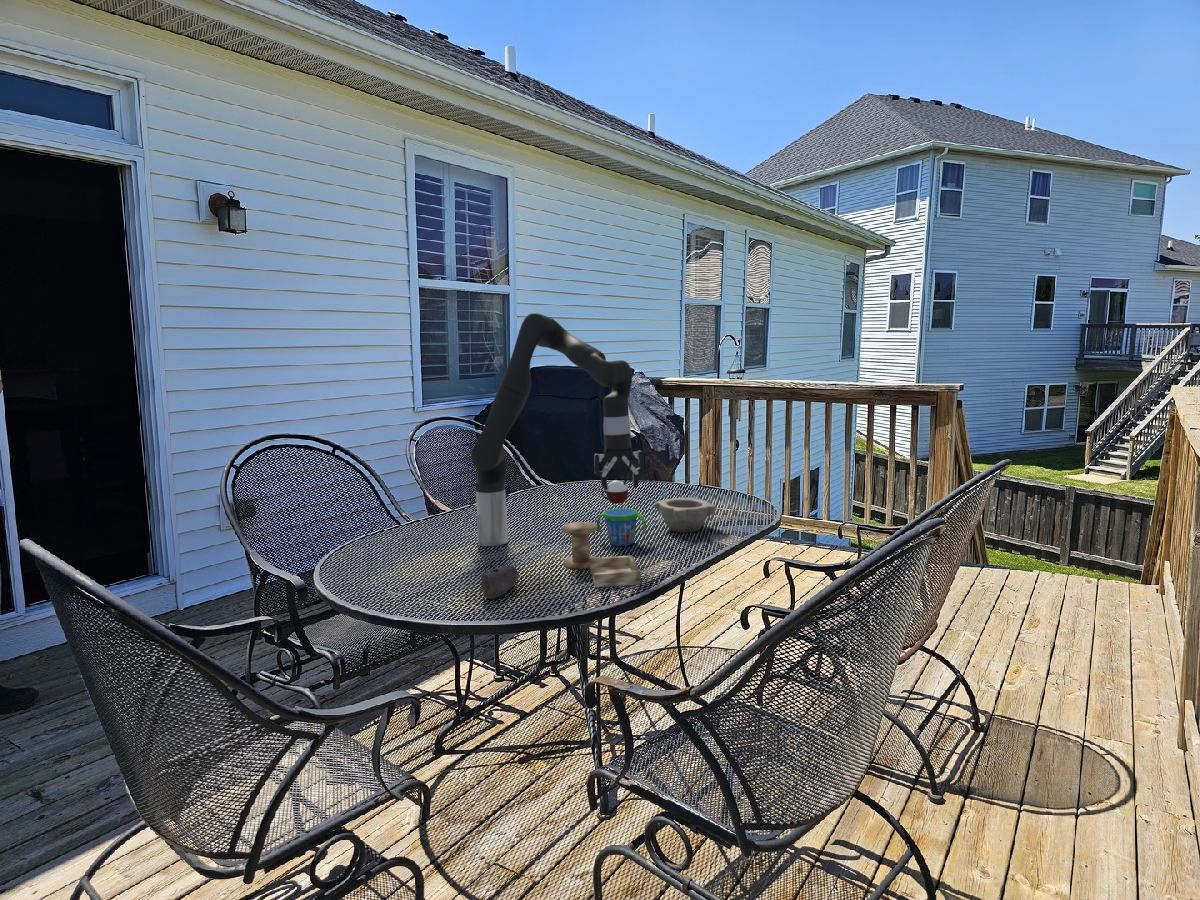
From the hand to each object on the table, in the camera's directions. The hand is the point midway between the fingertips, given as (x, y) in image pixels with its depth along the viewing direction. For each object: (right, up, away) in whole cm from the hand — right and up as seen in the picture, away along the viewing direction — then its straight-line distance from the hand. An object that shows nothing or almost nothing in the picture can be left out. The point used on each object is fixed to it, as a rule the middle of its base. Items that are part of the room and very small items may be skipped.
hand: (620, 488), depth 209 cm
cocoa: (-1, -4, +1) cm, 4 cm away
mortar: (+23, -15, +33) cm, 43 cm away
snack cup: (+1, -18, +19) cm, 27 cm away
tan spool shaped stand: (-11, -22, 0) cm, 24 cm away
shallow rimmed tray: (-2, -23, -12) cm, 26 cm away
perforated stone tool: (-31, -26, -21) cm, 46 cm away
